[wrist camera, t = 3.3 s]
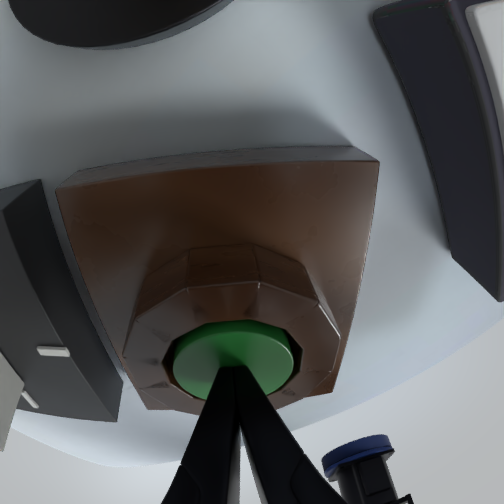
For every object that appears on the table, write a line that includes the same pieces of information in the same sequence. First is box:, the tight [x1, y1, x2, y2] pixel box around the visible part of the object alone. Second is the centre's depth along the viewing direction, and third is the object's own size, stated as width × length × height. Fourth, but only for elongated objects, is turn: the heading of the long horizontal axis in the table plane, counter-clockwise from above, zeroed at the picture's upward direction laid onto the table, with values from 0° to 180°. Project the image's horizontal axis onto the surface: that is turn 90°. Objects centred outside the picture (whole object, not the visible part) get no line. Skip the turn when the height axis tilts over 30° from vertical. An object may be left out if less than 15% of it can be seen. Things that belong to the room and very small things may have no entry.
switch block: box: [55, 146, 380, 415], centre depth 10 cm, size 11×9×4 cm
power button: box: [173, 319, 293, 399], centre depth 9 cm, size 4×4×2 cm
